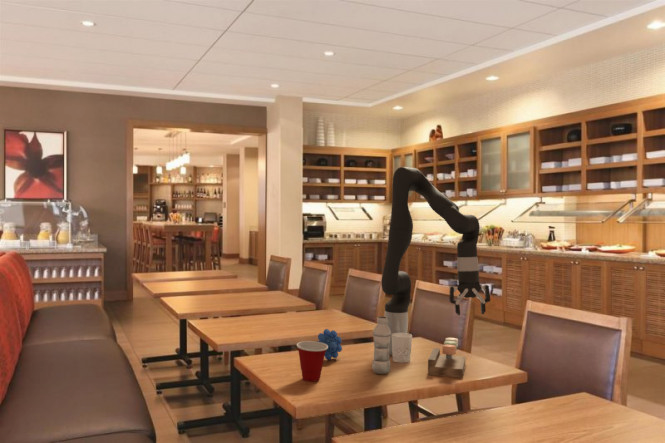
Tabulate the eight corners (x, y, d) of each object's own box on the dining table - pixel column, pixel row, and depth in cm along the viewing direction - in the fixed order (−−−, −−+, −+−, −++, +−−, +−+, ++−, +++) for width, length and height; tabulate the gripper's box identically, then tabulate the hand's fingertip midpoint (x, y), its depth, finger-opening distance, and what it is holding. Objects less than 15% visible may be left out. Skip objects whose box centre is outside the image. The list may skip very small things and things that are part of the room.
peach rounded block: (441, 359, 204) (442, 347, 204) (442, 356, 209) (443, 344, 208) (455, 360, 203) (455, 348, 203) (455, 357, 207) (456, 345, 207)
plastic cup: (316, 386, 189) (316, 349, 189) (289, 380, 195) (290, 345, 195) (333, 378, 198) (334, 343, 198) (307, 373, 204) (308, 339, 204)
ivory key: (444, 351, 216) (445, 339, 216) (445, 348, 220) (446, 337, 220) (457, 352, 214) (457, 340, 214) (458, 349, 219) (458, 338, 219)
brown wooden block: (427, 374, 205) (428, 359, 205) (433, 361, 222) (433, 347, 222) (462, 377, 202) (462, 362, 201) (465, 364, 219) (465, 350, 219)
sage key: (443, 355, 210) (443, 343, 210) (444, 352, 214) (444, 340, 214) (456, 356, 209) (456, 344, 209) (457, 353, 213) (457, 341, 213)
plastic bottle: (392, 371, 208) (393, 316, 207) (387, 376, 201) (388, 319, 201) (374, 369, 210) (375, 315, 209) (369, 374, 203) (370, 318, 203)
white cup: (410, 363, 219) (411, 337, 219) (390, 362, 220) (390, 336, 220) (412, 358, 227) (412, 333, 226) (392, 357, 228) (392, 332, 228)
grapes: (322, 364, 216) (322, 332, 216) (312, 360, 222) (313, 329, 221) (347, 360, 222) (348, 329, 222) (338, 356, 228) (338, 326, 228)
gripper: (485, 268, 213) (488, 312, 213) (446, 269, 214) (449, 313, 213) (490, 269, 206) (492, 315, 205) (449, 271, 206) (452, 316, 206)
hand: (470, 314), depth 209 cm, fingers open, 8 cm apart
